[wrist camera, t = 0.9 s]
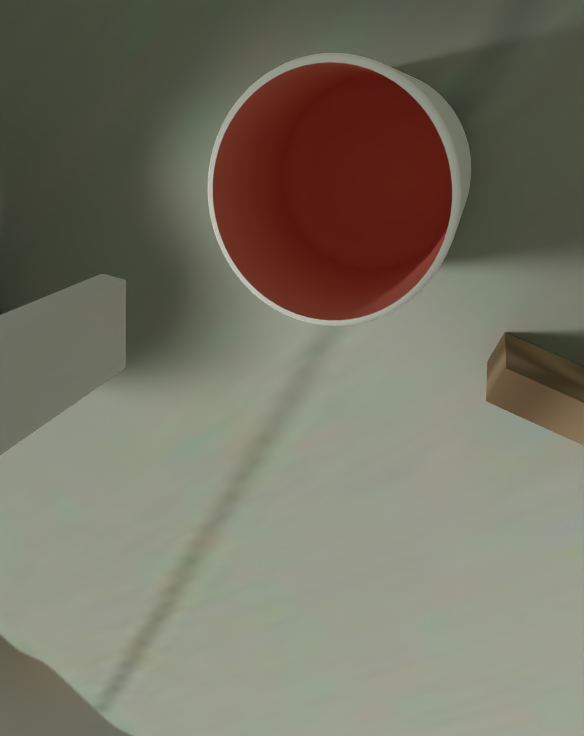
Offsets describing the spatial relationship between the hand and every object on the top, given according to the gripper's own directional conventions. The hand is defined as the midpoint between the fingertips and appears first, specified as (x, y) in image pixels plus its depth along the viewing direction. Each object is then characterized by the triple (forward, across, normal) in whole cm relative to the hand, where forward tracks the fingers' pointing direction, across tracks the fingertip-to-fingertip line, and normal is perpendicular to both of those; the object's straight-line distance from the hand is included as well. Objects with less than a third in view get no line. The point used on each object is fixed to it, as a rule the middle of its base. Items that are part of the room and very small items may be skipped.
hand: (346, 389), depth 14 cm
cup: (+19, -4, +3) cm, 19 cm away
